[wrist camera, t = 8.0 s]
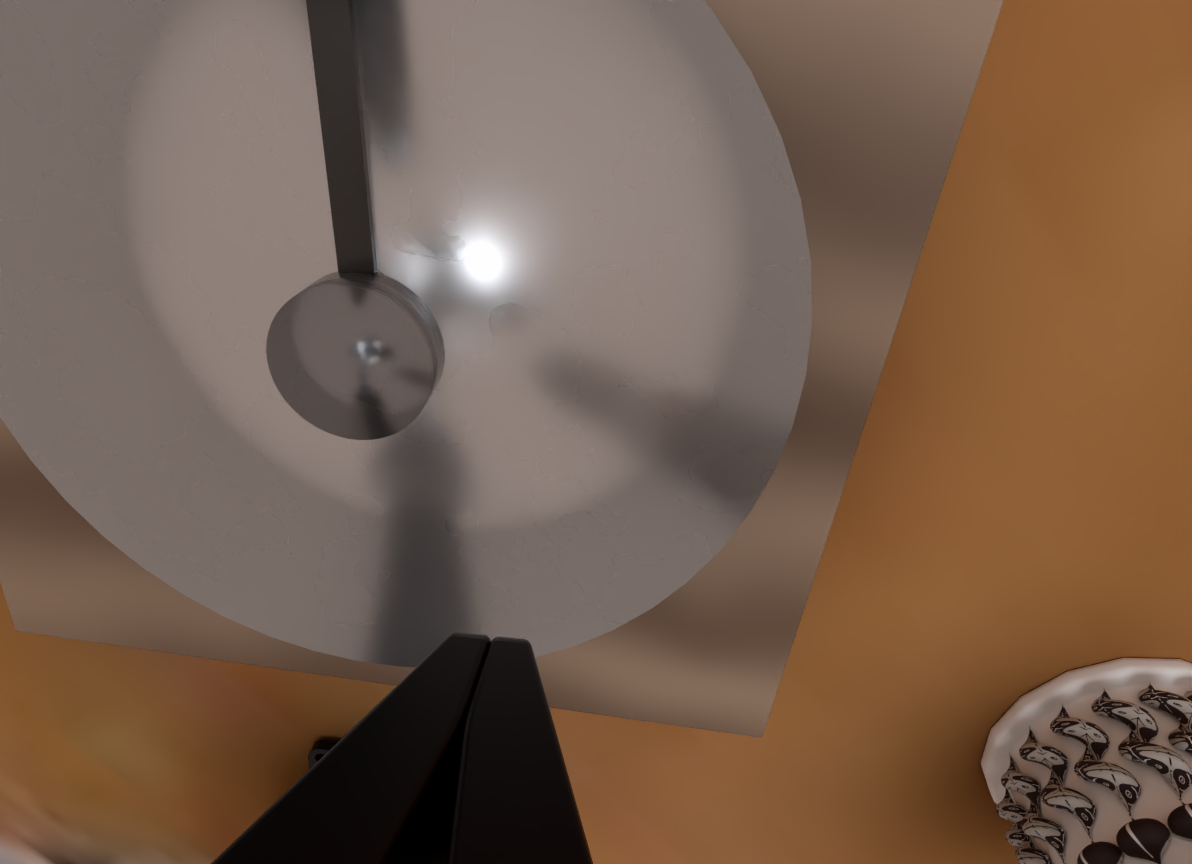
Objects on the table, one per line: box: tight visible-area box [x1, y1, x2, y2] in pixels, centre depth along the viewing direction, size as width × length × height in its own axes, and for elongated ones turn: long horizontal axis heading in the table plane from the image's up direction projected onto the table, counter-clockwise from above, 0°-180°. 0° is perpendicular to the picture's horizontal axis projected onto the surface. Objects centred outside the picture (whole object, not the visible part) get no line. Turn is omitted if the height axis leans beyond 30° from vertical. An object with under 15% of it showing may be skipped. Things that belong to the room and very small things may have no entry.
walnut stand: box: [0, 0, 1004, 738], centre depth 18 cm, size 24×24×2 cm
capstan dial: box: [0, 0, 812, 667], centre depth 16 cm, size 20×20×6 cm
